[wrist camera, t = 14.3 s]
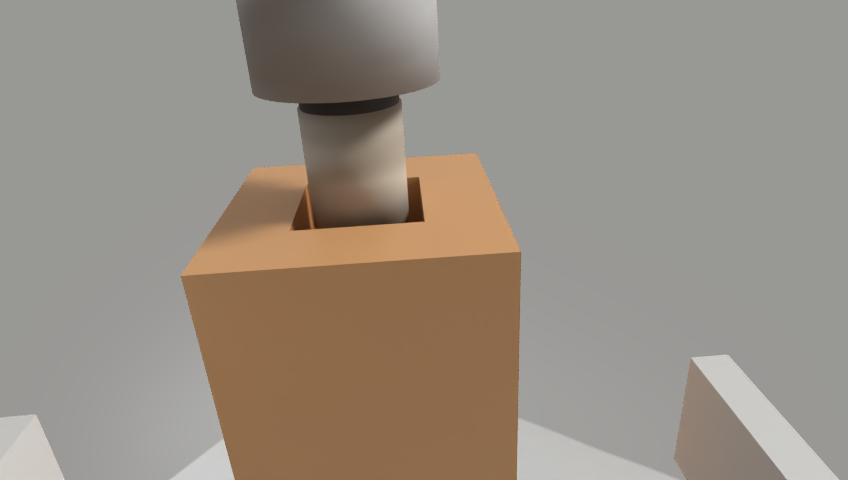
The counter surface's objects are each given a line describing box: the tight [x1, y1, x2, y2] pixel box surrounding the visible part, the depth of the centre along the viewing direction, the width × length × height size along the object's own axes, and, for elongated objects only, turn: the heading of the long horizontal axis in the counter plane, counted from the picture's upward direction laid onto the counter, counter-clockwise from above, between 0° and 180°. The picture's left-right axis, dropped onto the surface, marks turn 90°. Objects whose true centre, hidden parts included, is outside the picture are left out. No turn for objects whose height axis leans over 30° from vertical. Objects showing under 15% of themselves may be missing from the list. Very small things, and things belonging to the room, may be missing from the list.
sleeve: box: [181, 153, 521, 480], centre depth 17 cm, size 7×7×10 cm
